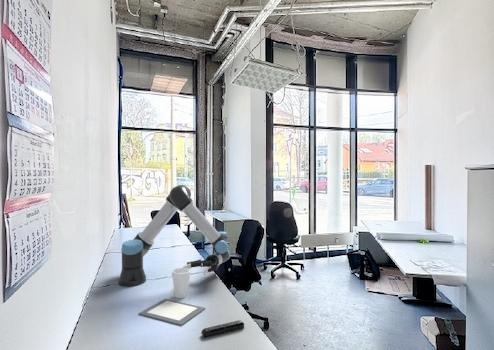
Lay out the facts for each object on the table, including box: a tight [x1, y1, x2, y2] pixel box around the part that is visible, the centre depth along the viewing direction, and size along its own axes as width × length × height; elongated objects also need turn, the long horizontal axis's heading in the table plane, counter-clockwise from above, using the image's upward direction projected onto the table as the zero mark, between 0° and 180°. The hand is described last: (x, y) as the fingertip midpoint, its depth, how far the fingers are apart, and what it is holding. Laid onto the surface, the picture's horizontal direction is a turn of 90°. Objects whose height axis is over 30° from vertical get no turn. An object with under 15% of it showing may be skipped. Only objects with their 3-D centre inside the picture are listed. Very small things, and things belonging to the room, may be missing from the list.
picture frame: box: [138, 298, 206, 327], centre depth 147 cm, size 24×18×1 cm
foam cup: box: [171, 267, 191, 299], centre depth 166 cm, size 10×9×13 cm
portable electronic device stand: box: [201, 320, 245, 339], centre depth 129 cm, size 18×3×3 cm, turn 117°
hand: (193, 270), depth 175 cm, fingers open, 13 cm apart
